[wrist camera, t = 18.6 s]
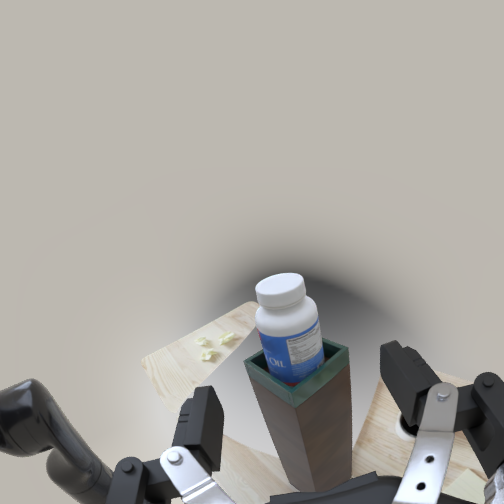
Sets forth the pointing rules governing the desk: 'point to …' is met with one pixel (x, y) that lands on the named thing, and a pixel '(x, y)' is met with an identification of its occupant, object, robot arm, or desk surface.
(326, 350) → the socket
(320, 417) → the stand
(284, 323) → the pill bottle
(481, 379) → the robot arm
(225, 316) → the desk surface
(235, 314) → the desk surface
